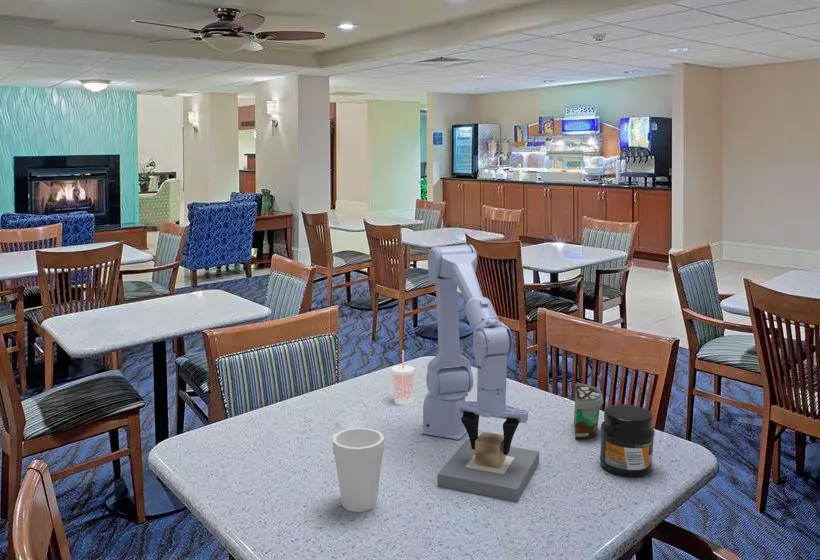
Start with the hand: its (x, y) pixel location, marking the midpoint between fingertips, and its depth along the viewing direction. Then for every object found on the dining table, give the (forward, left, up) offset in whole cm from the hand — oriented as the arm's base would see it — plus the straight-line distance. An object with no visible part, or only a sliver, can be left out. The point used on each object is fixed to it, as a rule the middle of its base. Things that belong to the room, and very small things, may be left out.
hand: (490, 450), depth 140 cm
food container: (+15, +29, -5) cm, 33 cm away
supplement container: (+25, +14, -5) cm, 29 cm away
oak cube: (0, 0, -2) cm, 3 cm away
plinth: (0, 0, -5) cm, 5 cm away
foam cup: (-19, -21, -5) cm, 29 cm away
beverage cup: (-33, +31, -5) cm, 46 cm away
